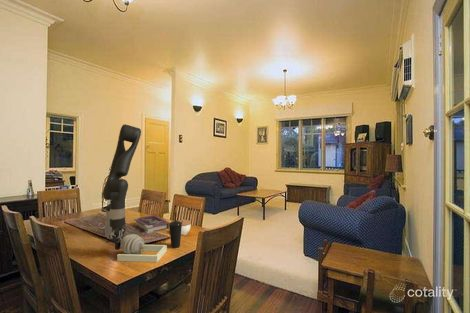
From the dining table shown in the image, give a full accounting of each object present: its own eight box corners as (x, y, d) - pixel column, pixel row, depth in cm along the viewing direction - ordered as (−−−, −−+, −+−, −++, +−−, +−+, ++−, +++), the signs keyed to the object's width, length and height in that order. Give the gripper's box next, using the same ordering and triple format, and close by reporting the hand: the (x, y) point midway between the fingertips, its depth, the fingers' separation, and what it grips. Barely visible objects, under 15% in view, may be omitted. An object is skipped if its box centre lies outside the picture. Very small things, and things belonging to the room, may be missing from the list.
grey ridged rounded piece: (129, 249, 140) (129, 229, 140) (152, 255, 134) (152, 234, 133) (113, 257, 131) (112, 235, 130) (137, 263, 124) (137, 240, 124)
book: (133, 225, 187) (133, 218, 187) (154, 221, 198) (154, 214, 198) (146, 234, 168) (146, 226, 168) (169, 229, 178) (169, 222, 178)
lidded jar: (187, 236, 162) (187, 222, 162) (171, 235, 164) (171, 221, 164) (193, 231, 172) (193, 217, 172) (178, 230, 174) (178, 216, 174)
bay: (117, 260, 126) (117, 254, 126) (130, 249, 141) (130, 244, 141) (157, 262, 125) (157, 256, 125) (166, 250, 139) (166, 245, 139)
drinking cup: (169, 244, 149) (169, 210, 148) (183, 244, 149) (183, 210, 149) (167, 249, 141) (167, 214, 140) (181, 249, 142) (181, 213, 141)
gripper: (117, 213, 140) (117, 244, 140) (103, 220, 127) (103, 254, 127) (130, 213, 139) (130, 244, 140) (117, 220, 126) (117, 254, 127)
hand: (117, 249), depth 133 cm, fingers closed
